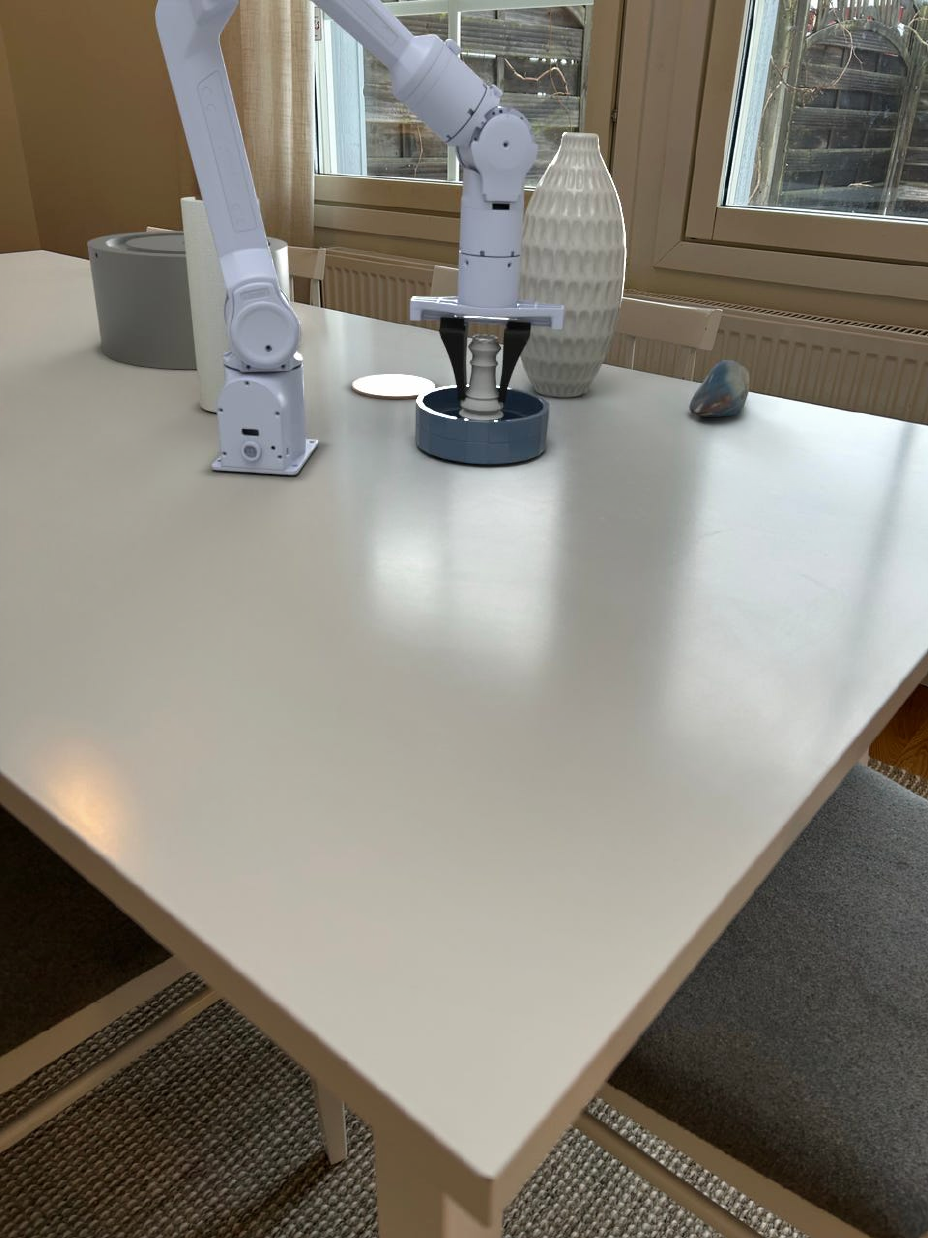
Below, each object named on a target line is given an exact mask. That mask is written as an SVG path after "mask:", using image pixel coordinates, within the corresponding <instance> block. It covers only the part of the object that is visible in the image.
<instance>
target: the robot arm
mask: <svg viewBox="0 0 928 1238" xmlns="http://www.w3.org/2000/svg"><path fill="white" fill-rule="evenodd" d="M240 1H241V0H157V3H156V7H155V12H154V17H155V19H154V20H155V27H156V30H157V35H158V38H159V42H160V45H161V49H162V53H163V57H164V61H165V64H166V68H167V71H168V75H169V78H170V83H171V86H172V91H173V94H174V97H175V102H176V105H177V106H176V107H177V110H178V113H179V118H180V120H181V124H182V127H183V131H184V134H185V139H186V143H187V146H188V150H189V154H190V158H191V162H192V165H193V169H194V173H195V176H196V179H197V184H198V187H199V191H200V196H202V199H203V203H204V206H205V210H206V214H207V217H208V221H209V225H210V229H211V232H212V236H213V240H214V244H215V247H216V251H217V255H218V259H219V262H220V266H221V270H222V274H223V278H224V282H225V286H226V298H225V303H224V311H223V312H224V319H225V323H226V325H227V337H228V341H229V344H230V348H229V349H228V351H227V352H225V353H224V354H223V363H224V364H223V367H224V379H225V385H224V387H223V389H222V391H221V392H220V394H219V396H218V400H217V412H216V417H217V418H216V419H217V420H216V421H217V430H218V440H219V441H218V442H219V453H220V455H219V456H218V457H217V458H216V459H215V460H214V461H213V462H212V463H211V466H210V467H211V469H212V470H214V471H222V472H237V473H238V472H239V473H254V474H269V475H271V474H272V475H282V476H283V475H284V476H287V475H288V476H295V475H297V474H298V473H299V472H300V471H301V469H303V466H305V463H306V462H307V461H308V459H309V458H310V456H311V455H312V454H313V452H314V451H315V449H316V448H317V447H318V445H319V440H318V439H317V438H307V424H306V423H307V422H306V402H305V401H306V399H305V397H306V396H305V379H304V378H305V376H304V375H305V374H304V357H303V355H302V354H301V353H299V352H298V349H299V347H300V345H301V339H302V328H301V323H300V320H299V317H298V315H297V313H296V312H295V310H294V309H293V308H292V306H291V301H290V302H289V299H288V297H287V296H286V294H285V293H284V291H283V290H282V289H281V288H280V287H279V283H278V279H277V275H276V271H275V268H274V264H273V261H272V257H271V254H270V250H269V246H268V242H267V238H266V237H267V235H266V230H265V226H264V222H263V217H262V214H261V208H260V209H259V205H258V200H257V198H258V196H257V193H256V189H255V184H254V180H253V175H252V172H251V168H250V167H251V166H250V163H249V159H248V156H247V151H246V146H245V143H244V142H245V141H244V139H243V138H244V137H243V135H242V130H241V125H240V122H239V118H238V114H237V109H236V105H235V101H234V97H233V91H232V89H231V84H230V80H229V76H228V71H227V67H226V63H225V60H224V59H225V58H224V55H223V51H222V47H221V43H220V36H221V34H222V32H223V31H224V29H225V28H226V25H227V24H228V22H229V20H230V19H231V17H232V15H233V13H234V12H235V10H236V9H237V7H238V5H239V2H240ZM309 1H311V2H312V3H313V4H314V5H315V6H317V7H318V8H319V10H321V11H322V12H324V14H325V15H326V16H328V17H329V18H330V19H331V20H333V21H334V22H335V23H336V24H337V25H338V26H339V27H341V29H342V30H344V31H345V32H346V33H348V35H350V37H352V38H353V39H354V40H355V41H357V42H358V44H360V45H361V46H362V47H363V48H364V49H365V50H367V51H368V52H369V53H370V54H371V55H372V56H374V57H375V59H376V60H378V61H379V62H380V63H381V64H383V65H384V66H385V67H386V68H387V69H388V72H389V77H390V85H391V93H392V96H393V97H395V98H396V99H397V100H398V101H399V102H400V103H401V104H402V105H403V106H404V107H405V108H406V109H407V110H409V111H410V112H411V113H412V114H413V115H414V116H415V117H416V118H417V120H419V121H420V122H421V123H423V124H424V125H425V126H426V128H428V129H429V130H430V131H431V132H432V133H433V134H434V135H436V136H437V137H438V138H439V139H440V140H441V141H442V142H443V143H444V144H445V145H446V146H448V147H454V152H455V157H456V158H457V161H458V163H459V164H460V167H462V168H463V170H462V195H461V199H460V219H459V220H460V221H459V222H460V223H459V225H460V227H459V244H458V245H459V247H458V250H459V251H458V271H457V272H458V273H457V274H458V275H457V296H412V297H411V298H410V300H409V321H411V322H421V321H435V322H436V321H437V322H439V329H438V333H439V337H440V339H441V341H442V344H443V346H444V348H445V351H446V353H447V356H448V359H449V362H450V364H451V368H452V371H453V376H454V380H455V386H457V395H458V400H465V396H466V395H465V393H466V391H467V385H468V381H467V380H468V375H467V374H468V373H467V371H468V370H467V355H468V354H467V351H468V337H469V326H470V325H469V324H485V325H500V326H501V325H502V326H504V325H505V327H504V329H503V343H502V361H501V362H502V363H501V374H500V382H499V386H500V387H499V397H498V402H503V403H505V402H506V395H507V389H508V388H509V385H510V382H511V379H512V376H513V373H514V371H515V368H516V366H517V363H518V361H519V359H520V358H521V357H520V355H521V353H522V351H523V349H524V347H525V345H526V344H527V342H528V339H529V337H530V332H531V326H534V327H551V329H558V330H562V327H563V316H564V305H554V304H544V303H536V302H528V301H520V300H518V288H519V273H520V258H521V243H522V228H523V218H524V214H525V212H524V211H525V187H526V186H525V185H526V175H527V173H528V172H529V171H530V170H531V169H532V167H533V165H534V163H535V162H536V160H537V157H538V151H539V145H538V144H537V143H536V142H535V141H536V140H535V134H534V133H533V132H532V131H533V127H532V125H531V122H530V121H529V119H528V118H527V117H526V116H525V114H523V113H522V112H521V111H519V110H517V109H515V108H513V107H507V106H500V99H501V97H502V96H503V91H502V90H501V89H500V88H499V87H498V86H497V85H496V84H491V85H490V86H489V85H487V84H486V83H485V82H484V81H483V80H482V79H481V78H480V77H479V76H478V75H477V74H476V73H475V72H474V71H473V70H472V69H471V68H470V67H469V66H468V65H467V64H466V63H465V62H464V61H463V59H461V58H460V56H459V55H460V54H461V53H462V50H463V49H462V47H461V46H459V44H458V43H457V42H456V41H455V40H454V39H452V38H449V39H446V40H445V41H443V40H442V39H441V38H440V37H439V36H438V35H437V34H434V33H431V34H422V35H414V34H413V33H411V31H410V30H409V29H408V28H407V27H406V26H405V25H404V24H403V23H402V22H401V21H400V20H399V19H398V18H397V17H396V15H395V14H393V12H392V11H390V9H389V8H388V7H387V6H386V5H385V4H384V2H382V1H381V0H309Z"/></svg>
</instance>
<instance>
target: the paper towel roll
mask: <svg viewBox="0 0 928 1238" xmlns="http://www.w3.org/2000/svg"><path fill="white" fill-rule="evenodd" d="M257 200H258V205H259V209H260V210H261V206H260V205H261V204H260V197H259V198H258V197H257ZM180 210H181V218H182V229H183V230H182V231H184V241H185V251H186V261H187V271H188V281H189V292H190V302H191V312H192V322H193V333H194V343H195V353H196V363H197V369H196V372H197V382H198V393H199V403H200V407H201V408H202V409H203V410H204V411H208V412H212V413H217V400H218V396H219V394H220V392H221V391H222V389H223V387H224V385H225V379H224V367H223V364H224V363H223V354H224V353H225V352H227V351H228V349H229V348H230V344H229V341H228V337H227V325H226V323H225V319H224V312H223V311H224V303H225V298H226V286H225V282H224V278H223V274H222V270H221V266H220V262H219V259H218V255H217V251H216V247H215V244H214V240H213V236H212V232H211V229H210V225H209V221H208V217H207V214H206V210H205V206H204V203H203V199H202V195H195V196H186V197H185V196H184V197H181V198H180Z"/></svg>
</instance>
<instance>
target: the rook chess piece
mask: <svg viewBox="0 0 928 1238" xmlns="http://www.w3.org/2000/svg"><path fill="white" fill-rule="evenodd" d="M481 335H482V338H480V334H474V335H472V337H471V341H470V343H469V344H467V349H469V351H470V353H471V360H469V364H470V366H471V371H470V376H469V382H468V385H469V387H468V390H467V391H466V393H465V395H466V396H465V400H461V403H460V405H461V407H462V408H463V409H462V410H461V411H459V414H460V416H461V417H462V418H464V419H472V420H488V421H490V420H500V419H501V418H502V417H503V413H502V412H501V411H500V410H501V409H502V408H503V403H502V402H498V397H499V393H498V392H497V387H496V386H497V377H496V376H497V375H496V373H497V371H496V370H497V367H498V365H499V361H497V356H498V354H499V352H500V351H501V350H502V346H501V345H500V343H499V336H497V335H494V334H491V335H490V338H488V334H486V333H485V334H481Z"/></svg>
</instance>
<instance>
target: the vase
mask: <svg viewBox="0 0 928 1238" xmlns="http://www.w3.org/2000/svg"><path fill="white" fill-rule="evenodd" d="M599 140H600V139H599V135H598V134H597V133H593V132H591V133H590V132H571V131H569V132H567V131H566V132H563V134H562V137H561V142H560V146H559V149H558V151H557V152H556V154H555V156H554V157H553V159H552V161H551V163H549V165H548V167H547V168H546V170H545V171H544V173H543V175H542V176H541V178H540V180H539V181H538V183H537V185H536V187H535V189H534V191H533V193H532V195H531V196H530V200H529V201H528V204H527V207H526V209H525V212H524V214H523V228H522V243H521V258H520V273H519V288H518V300H520V301H528V302H536V303H544V304H554V305H564V316H563V327H562V330H558V329H551V327H534V326H531V332H530V337H529V339H528V342H527V344H526V345H525V347H524V349H523V351H522V353H521V355H520V357H519V358H520V360H521V363H522V367H523V369H524V372H525V374H526V376H527V378H528V379H529V383H530V385H531V386H532V388H533V390H534V391H535V392H536V393H537V394H539V395H542V396H545V397H551V398H563V399H564V398H566V399H567V398H576V397H579V396H582V395H583V394H584V393H585V392H586V390H587V389H588V388H589V386H590V385H591V383H592V382H593V380H594V379H595V377H596V376H597V375H598V373H599V372H600V370H601V368H602V365H603V363H604V361H605V359H606V357H607V355H608V352H609V350H610V347H611V345H612V341H613V340H614V336H615V332H616V328H617V324H618V322H619V321H618V320H619V317H620V312H621V306H622V300H623V294H624V285H625V284H624V283H625V274H626V273H625V272H626V258H627V248H626V244H627V243H626V230H625V223H624V216H623V212H622V206H621V202H620V199H619V195H618V193H617V190H616V187H615V185H614V182H613V180H612V177H611V174H610V173H609V170H608V169H607V166H606V164H605V161H604V159H603V157H602V154H601V151H600V145H599V143H600V142H599Z"/></svg>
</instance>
